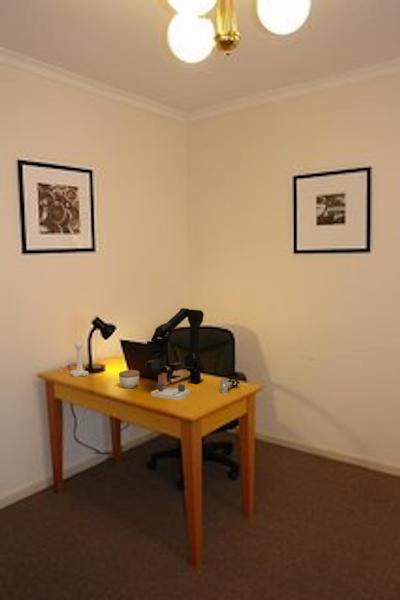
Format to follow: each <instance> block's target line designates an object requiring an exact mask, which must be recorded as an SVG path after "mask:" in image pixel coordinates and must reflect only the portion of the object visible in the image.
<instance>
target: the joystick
mask: <svg viewBox="0 0 400 600" xmlns="http://www.w3.org/2000/svg"><path fill="white" fill-rule="evenodd" d="M74 348H75V349H76V369H72V370H70V371H69V373H70V375H72V377H73V378H78V377H80V376H82V377H86V376H87V377H88V376H89V371H88V370H84V369H83V359H82V358H83V357H82V348H83V342H81V341H78V340H77V341H76V342H75V343H74Z"/></svg>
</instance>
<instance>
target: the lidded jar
mask: <svg viewBox="0 0 400 600" xmlns="http://www.w3.org/2000/svg"><path fill="white" fill-rule="evenodd" d="M118 378H119V383H120V385H121V386H122V387H123V388H124V389H129V390H130V389H134V388H136V386H137V385H138V384H139V381H140V371H139V370H134V369H128V370H122V371H120V372H118Z"/></svg>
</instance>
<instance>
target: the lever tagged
mask: <svg viewBox="0 0 400 600" xmlns="http://www.w3.org/2000/svg"><path fill="white" fill-rule="evenodd" d="M155 386H156V387H155V388H156V389H155V390H159V391H163V386H164V385H162V384H158V383H157V384H156V385H155Z"/></svg>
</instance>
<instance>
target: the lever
mask: <svg viewBox="0 0 400 600" xmlns="http://www.w3.org/2000/svg"><path fill="white" fill-rule="evenodd" d="M185 385H186V384H185V383H178V384H177V388H178V391H185V389H186V386H185Z"/></svg>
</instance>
